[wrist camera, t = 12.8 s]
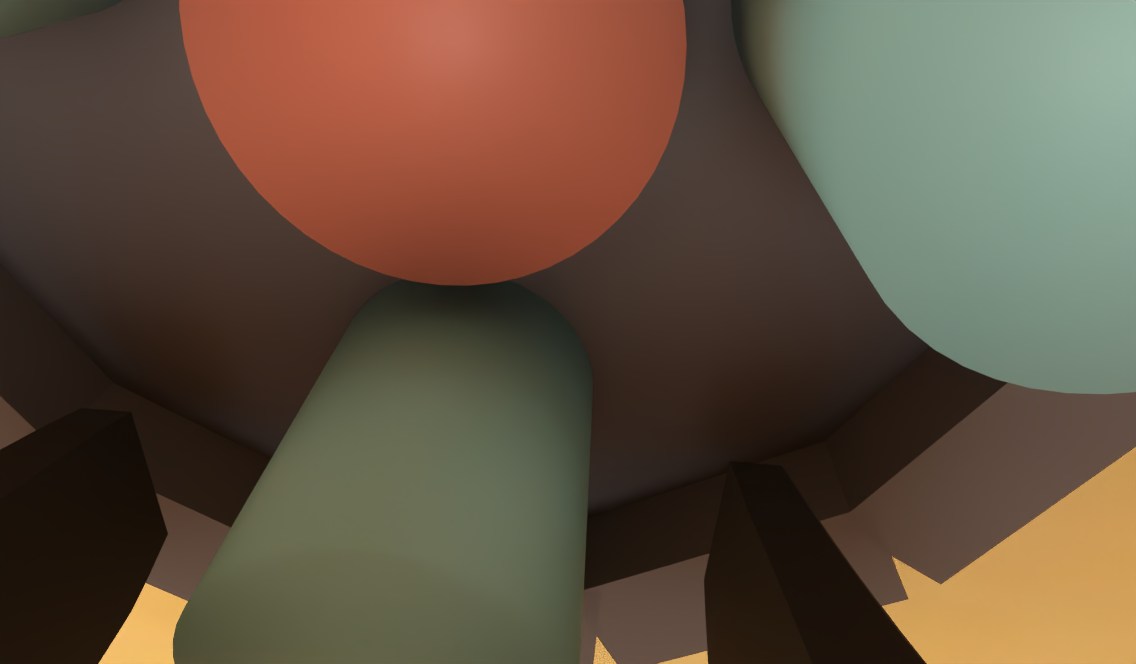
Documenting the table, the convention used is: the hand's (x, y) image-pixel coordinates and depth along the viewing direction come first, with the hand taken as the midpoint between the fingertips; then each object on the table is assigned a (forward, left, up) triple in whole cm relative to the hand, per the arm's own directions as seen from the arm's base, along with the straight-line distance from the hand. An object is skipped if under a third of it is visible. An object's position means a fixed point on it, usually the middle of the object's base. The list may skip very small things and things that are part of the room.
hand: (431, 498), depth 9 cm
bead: (0, 0, -2) cm, 2 cm away
